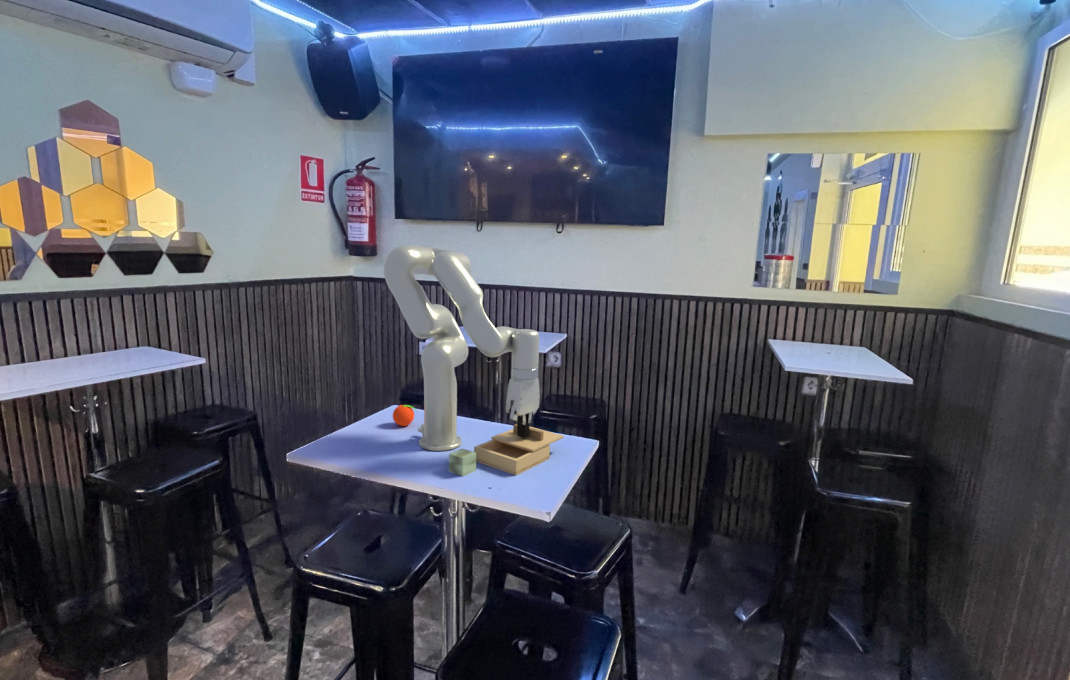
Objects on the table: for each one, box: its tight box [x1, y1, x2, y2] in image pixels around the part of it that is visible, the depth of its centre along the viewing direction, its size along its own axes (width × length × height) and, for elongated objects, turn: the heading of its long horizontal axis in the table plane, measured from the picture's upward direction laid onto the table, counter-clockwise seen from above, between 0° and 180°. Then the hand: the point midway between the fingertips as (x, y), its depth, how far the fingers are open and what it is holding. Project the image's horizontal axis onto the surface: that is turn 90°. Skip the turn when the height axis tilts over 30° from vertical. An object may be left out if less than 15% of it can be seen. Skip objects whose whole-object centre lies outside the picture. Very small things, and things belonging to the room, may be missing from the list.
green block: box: [448, 447, 477, 477], centre depth 137 cm, size 5×5×5 cm
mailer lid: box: [490, 423, 565, 452], centre depth 151 cm, size 15×15×3 cm
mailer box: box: [473, 439, 551, 476], centre depth 146 cm, size 15×15×4 cm
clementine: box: [392, 404, 418, 427], centre depth 171 cm, size 8×7×7 cm
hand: (523, 436), depth 149 cm, fingers closed
